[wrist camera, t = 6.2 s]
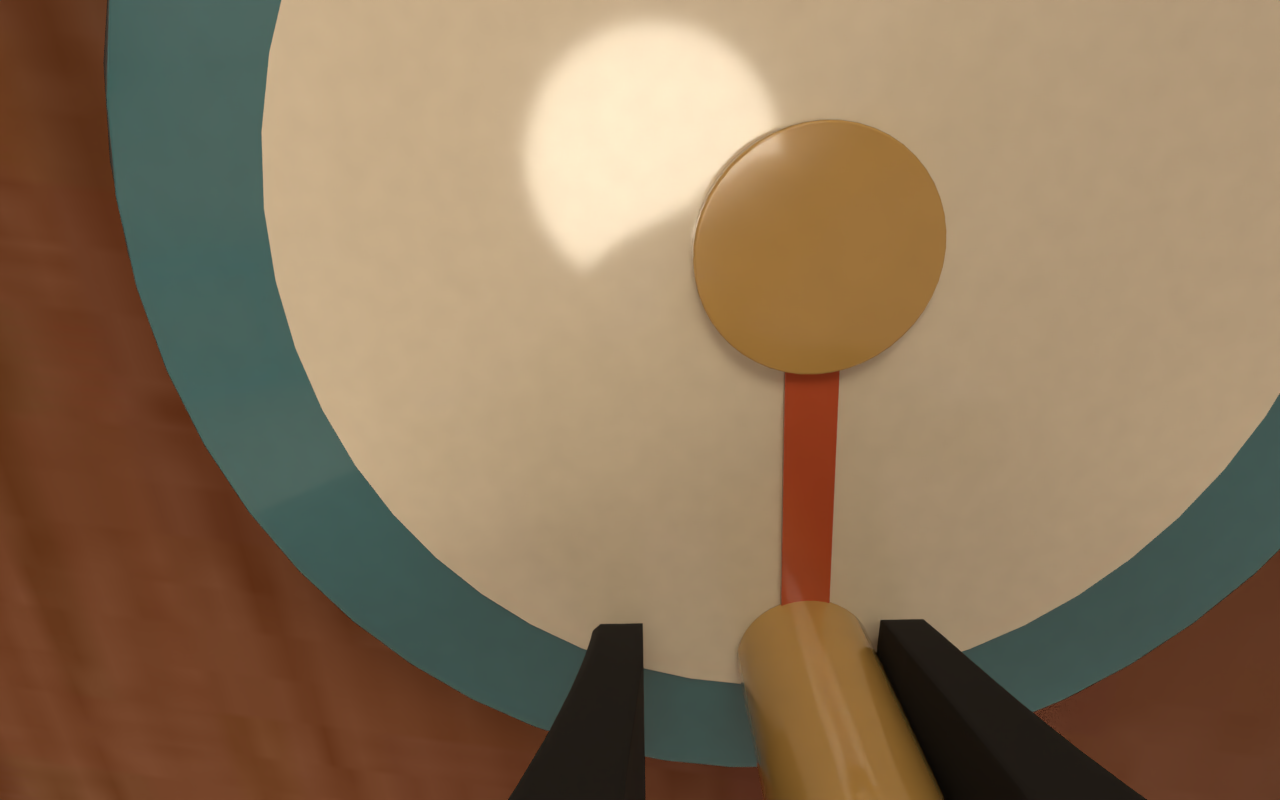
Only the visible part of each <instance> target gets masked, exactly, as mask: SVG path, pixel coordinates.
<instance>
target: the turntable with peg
mask: <svg viewBox="0 0 1280 800" xmlns="http://www.w3.org/2000/svg"><path fill="white" fill-rule="evenodd" d="M106 104H107V114H108V124H109V134H110V144H111V154H112V164H113V174H114V184H115V195H116V200H117V204H118V208H119V213H120V217H121V222H122V226H123V230H124V235H125V239H126V244H127V248H128V252H129V257H130V261H131V265H132V270H133V274H134V279H135V283H136V287H137V290H138V293H139V296H140V298H141V301H142V304H143V307H144V309H145V312H146V315H147V318H148V320H149V323H150V326H151V329H152V332H153V334H154V337H155V340H156V343H157V345H158V348H159V351H160V354H161V356H162V359H163V362H164V365H165V367H166V370H167V372H168V374H169V376H170V378H171V380H172V382H173V384H174V386H175V388H176V390H177V392H178V394H179V396H180V398H181V400H182V402H183V404H184V406H185V408H186V410H187V412H188V414H189V416H190V418H191V420H192V422H193V424H194V426H195V428H196V430H197V432H198V434H199V436H200V438H201V440H202V441H203V443H204V445H205V447H206V448H207V450H208V451H209V453H210V454H211V456H212V457H213V459H214V460H215V462H216V463H217V465H218V466H219V468H220V469H221V471H222V472H223V474H224V475H225V477H226V478H227V480H228V481H229V483H230V485H231V486H232V488H233V489H234V491H235V492H236V494H237V495H238V497H239V498H240V500H241V501H242V503H243V504H244V506H245V507H246V509H247V510H248V512H249V513H250V514H251V515H252V516H253V518H254V519H255V520H256V521H257V522H258V523H259V525H260V526H261V527H262V528H263V529H264V531H265V532H266V533H267V534H268V535H269V536H270V538H271V539H272V540H273V541H274V542H275V543H276V545H277V546H278V547H279V548H280V549H281V550H282V552H283V553H284V554H285V555H286V556H287V558H288V559H289V560H290V561H291V562H292V563H293V565H294V566H295V567H296V568H297V569H298V570H299V571H300V572H301V573H302V574H303V575H304V576H305V577H306V578H307V579H308V580H309V581H310V582H311V583H312V584H313V585H315V586H316V587H317V588H318V589H319V590H320V591H321V592H322V593H323V594H324V595H325V596H326V597H327V598H329V599H330V600H331V601H332V602H333V603H334V604H335V605H336V606H337V607H338V608H339V609H340V610H341V611H342V612H344V613H345V614H346V615H347V616H348V617H349V618H350V619H351V620H352V621H353V622H355V623H356V624H357V625H359V626H360V627H361V628H363V629H364V630H365V631H367V632H368V633H369V634H371V635H372V636H374V637H375V638H376V639H378V640H379V641H380V642H382V643H383V644H384V645H386V646H387V647H388V648H390V649H391V650H393V651H394V652H395V653H397V654H398V655H399V656H401V657H402V658H403V659H405V660H406V661H407V662H409V663H410V664H412V665H413V666H415V667H417V668H419V669H420V670H422V671H424V672H425V673H427V674H429V675H431V676H432V677H434V678H436V679H438V680H439V681H441V682H443V683H444V684H446V685H448V686H450V687H451V688H453V689H455V690H457V691H458V692H460V693H462V694H463V695H465V696H467V697H469V698H470V699H472V700H475V701H477V702H479V703H481V704H484V705H486V706H488V707H491V708H493V709H495V710H497V711H500V712H502V713H504V714H506V715H509V716H511V717H513V718H516V719H518V720H520V721H522V722H525V723H527V724H529V725H531V726H534V727H537V728H540V729H543V730H546V731H550V729H551V727H552V725H553V723H554V721H555V719H556V717H557V715H558V713H559V711H560V709H561V707H562V705H563V703H564V701H565V699H566V698H567V696H568V694H569V692H570V689H571V687H572V685H573V683H574V680H575V678H576V676H577V674H578V672H579V669H580V667H581V664H582V662H583V659H584V657H585V654H586V651H587V648H588V646H589V643H590V639H591V635H592V632H593V630H594V629H595V628H596V627H598V626H599V625H600V624H630V623H643V667H644V738H645V757H649V758H654V759H659V760H664V761H673V762H683V763H693V764H703V765H713V766H723V767H757V768H758V773H759V779H760V784H761V789H762V794H763V799H764V800H945V798H944V796H943V794H942V791H941V789H940V787H939V785H938V783H937V781H936V779H935V776H934V774H933V772H932V770H931V768H930V766H929V764H928V761H927V759H926V757H925V755H924V753H923V751H922V749H921V746H920V744H919V742H918V740H917V738H916V736H915V734H914V731H913V729H912V727H911V725H910V723H909V721H908V719H907V716H906V714H905V712H904V710H903V708H902V706H901V704H900V702H899V699H898V697H897V695H896V693H895V691H894V689H893V687H892V684H891V682H890V680H889V678H888V676H887V674H886V672H885V669H884V667H883V665H882V663H881V661H880V659H879V657H878V654H877V644H878V636H879V627H880V620H899V619H924V620H925V621H926V622H927V623H929V624H930V625H931V626H932V627H933V628H935V629H936V630H937V631H938V632H939V633H941V634H942V635H943V636H944V637H945V638H946V639H948V640H949V641H950V642H951V643H952V644H953V645H954V646H956V647H957V648H958V649H959V650H960V651H961V652H962V653H964V654H965V655H966V656H967V657H968V658H969V659H970V660H972V661H973V662H974V663H975V664H976V665H977V666H979V667H980V668H981V669H982V670H983V671H984V672H986V673H987V674H988V675H989V676H990V677H991V678H992V679H994V680H995V681H996V682H997V683H998V684H999V685H1001V686H1002V687H1003V688H1004V689H1005V690H1007V691H1008V692H1009V693H1010V694H1011V695H1012V696H1014V697H1015V698H1016V699H1017V700H1018V701H1020V702H1021V703H1022V704H1023V705H1024V706H1026V707H1027V708H1028V709H1029V710H1030V711H1032V712H1035V711H1038V710H1040V709H1043V708H1045V707H1048V706H1050V705H1052V704H1055V703H1057V702H1060V701H1062V700H1064V699H1067V698H1068V697H1070V696H1072V695H1074V694H1076V693H1078V692H1080V691H1082V690H1084V689H1085V688H1087V687H1089V686H1091V685H1093V684H1095V683H1097V682H1099V681H1101V680H1103V679H1104V678H1106V677H1108V676H1110V675H1112V674H1114V673H1116V672H1118V671H1120V670H1121V669H1123V668H1125V667H1127V666H1129V665H1131V664H1132V663H1134V662H1135V661H1137V660H1138V659H1140V658H1141V657H1143V656H1144V655H1146V654H1148V653H1149V652H1151V651H1152V650H1154V649H1155V648H1157V647H1158V646H1160V645H1161V644H1163V643H1164V642H1166V641H1167V640H1169V639H1170V638H1172V637H1173V636H1175V635H1176V634H1178V633H1179V632H1181V631H1182V630H1184V629H1186V628H1187V627H1189V626H1190V625H1192V624H1193V623H1194V622H1196V621H1197V620H1198V619H1199V618H1201V617H1202V616H1203V615H1204V614H1206V613H1207V612H1208V611H1209V610H1211V609H1212V608H1213V607H1214V606H1216V605H1217V604H1218V603H1219V602H1221V601H1222V600H1223V599H1224V598H1226V597H1227V596H1228V595H1229V594H1231V593H1232V592H1233V591H1234V590H1236V589H1237V588H1238V587H1239V586H1240V585H1242V584H1243V583H1244V582H1245V581H1247V580H1248V579H1249V578H1250V577H1252V576H1253V575H1254V574H1255V573H1256V572H1257V571H1258V570H1259V569H1260V568H1261V567H1262V566H1263V565H1265V564H1266V563H1267V562H1268V561H1269V560H1270V559H1271V558H1272V557H1273V556H1274V555H1275V554H1276V553H1277V552H1278V551H1279V550H1280V0H109V6H108V40H107V75H106Z"/></svg>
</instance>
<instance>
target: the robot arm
mask: <svg viewBox="0 0 1280 800" xmlns="http://www.w3.org/2000/svg"><path fill="white" fill-rule="evenodd" d="M877 654H878V657H879V659H880V661H881V663H882V665H883V667H884V669H885V672H886V674H887V676H888V678H889V680H890V682H891V684H892V687H893V689H894V691H895V693H896V695H897V697H898V699H899V702H900V704H901V706H902V708H903V710H904V712H905V714H906V716H907V719H908V721H909V723H910V725H911V727H912V729H913V731H914V734H915V736H916V738H917V740H918V742H919V744H920V746H921V749H922V751H923V753H924V755H925V757H926V759H927V761H928V764H929V766H930V768H931V770H932V772H933V774H934V776H935V779H936V781H937V783H938V785H939V787H940V789H941V791H942V794H943V796H944V798H945V800H1147V799H1145V798H1144V797H1142V796H1141V795H1140V794H1138V793H1137V792H1135V791H1134V790H1133V789H1131V788H1130V787H1128V786H1127V785H1126V784H1124V783H1123V782H1122V781H1120V780H1119V779H1118V778H1116V777H1115V776H1114V775H1112V774H1111V773H1110V772H1108V771H1107V770H1106V769H1104V768H1103V767H1102V766H1100V765H1099V764H1098V763H1096V762H1095V761H1094V760H1092V759H1091V758H1090V757H1088V756H1087V755H1086V754H1084V753H1083V752H1082V751H1080V750H1079V749H1078V748H1076V747H1075V746H1074V745H1073V744H1071V743H1070V742H1069V741H1068V740H1066V739H1065V738H1064V737H1063V736H1061V735H1060V734H1059V733H1057V732H1056V731H1055V730H1054V729H1052V728H1051V727H1050V726H1049V725H1047V724H1046V723H1045V722H1044V721H1043V720H1041V719H1040V718H1039V717H1038V716H1036V715H1035V714H1034V713H1033V712H1032V711H1030V710H1029V709H1028V708H1027V707H1026V706H1024V705H1023V704H1022V703H1021V702H1020V701H1018V700H1017V699H1016V698H1015V697H1014V696H1012V695H1011V694H1010V693H1009V692H1008V691H1007V690H1005V689H1004V688H1003V687H1002V686H1001V685H999V684H998V683H997V682H996V681H995V680H994V679H992V678H991V677H990V676H989V675H988V674H987V673H986V672H984V671H983V670H982V669H981V668H980V667H979V666H977V665H976V664H975V663H974V662H973V661H972V660H970V659H969V658H968V657H967V656H966V655H965V654H964V653H962V652H961V651H960V650H959V649H958V648H957V647H956V646H954V645H953V644H952V643H951V642H950V641H949V640H948V639H946V638H945V637H944V636H943V635H942V634H941V633H939V632H938V631H937V630H936V629H935V628H933V627H932V626H931V625H930V624H929V623H927V622H926V621H925V620H924V619H899V620H880V627H879V636H878V644H877ZM508 800H645V738H644V667H643V623H630V624H600V625H599V626H598V627H596V628H595V629H594V630H593V632H592V635H591V639H590V643H589V646H588V648H587V651H586V654H585V657H584V659H583V662H582V664H581V667H580V669H579V672H578V674H577V676H576V678H575V680H574V683H573V685H572V687H571V689H570V692H569V694H568V696H567V698H566V699H565V701H564V703H563V705H562V707H561V709H560V711H559V713H558V715H557V717H556V719H555V721H554V723H553V725H552V727H551V729H550V731H549V732H548V734H547V736H546V738H545V740H544V741H543V743H542V745H541V747H540V748H539V750H538V752H537V753H536V755H535V757H534V758H533V760H532V762H531V763H530V765H529V767H528V768H527V770H526V772H525V773H524V775H523V777H522V778H521V780H520V782H519V783H518V785H517V787H516V788H515V790H514V791H513V793H512V794H511V796H510V797H509V799H508Z"/></svg>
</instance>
